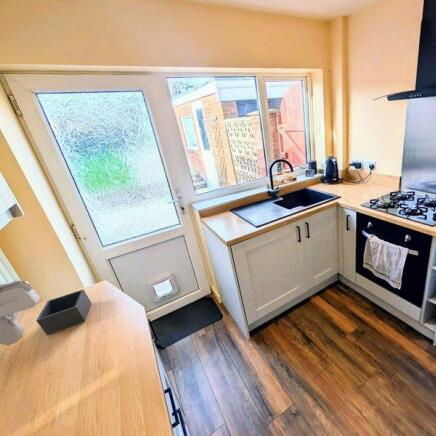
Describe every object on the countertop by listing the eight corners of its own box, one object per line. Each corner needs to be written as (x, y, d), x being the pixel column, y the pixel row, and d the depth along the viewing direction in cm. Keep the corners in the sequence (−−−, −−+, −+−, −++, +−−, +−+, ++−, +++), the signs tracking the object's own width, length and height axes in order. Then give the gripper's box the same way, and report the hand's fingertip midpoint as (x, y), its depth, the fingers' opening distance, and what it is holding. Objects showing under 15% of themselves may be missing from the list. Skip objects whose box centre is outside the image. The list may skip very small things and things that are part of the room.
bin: (46, 335, 97) (36, 320, 93) (57, 314, 107) (47, 300, 104) (85, 321, 101) (76, 307, 98) (91, 302, 112) (83, 289, 108)
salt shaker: (27, 328, 79) (4, 297, 74) (27, 338, 75) (3, 306, 70) (1, 340, 76) (-25, 308, 70) (0, 351, 72) (-28, 319, 66)
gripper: (29, 272, 74) (52, 307, 80) (-69, 299, 66) (-36, 335, 72) (20, 284, 69) (45, 320, 75) (-87, 314, 61) (-51, 352, 67)
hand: (4, 327), depth 73 cm, fingers closed on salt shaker, 3 cm apart
